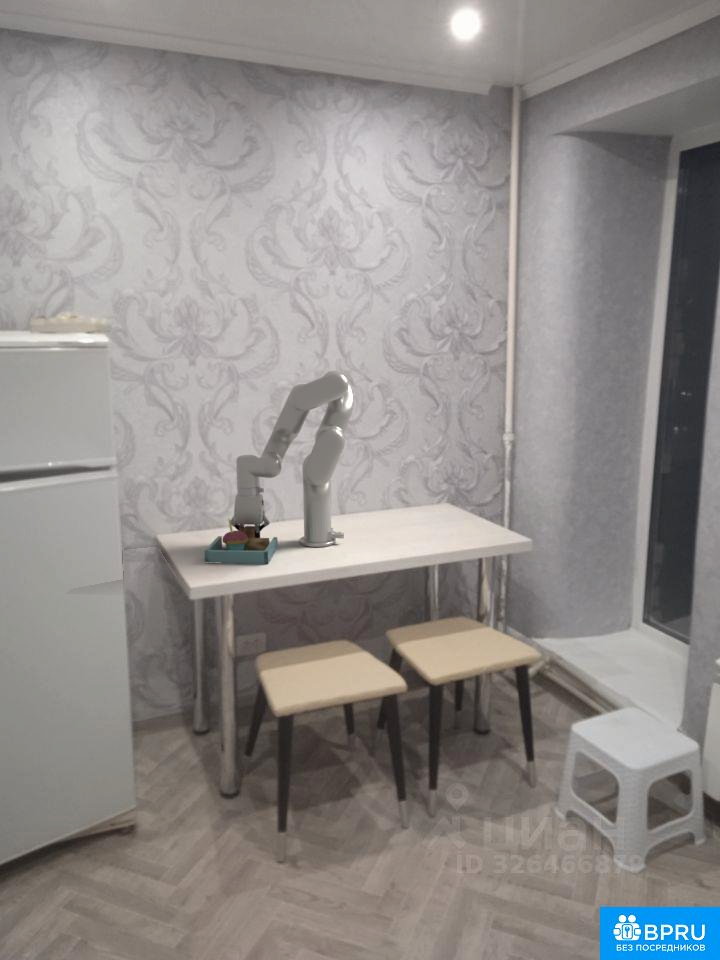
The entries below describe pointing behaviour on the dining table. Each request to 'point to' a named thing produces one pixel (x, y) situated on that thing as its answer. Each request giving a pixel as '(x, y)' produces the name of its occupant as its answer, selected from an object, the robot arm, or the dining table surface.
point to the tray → (239, 554)
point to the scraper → (254, 540)
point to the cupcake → (235, 539)
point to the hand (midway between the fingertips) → (250, 542)
